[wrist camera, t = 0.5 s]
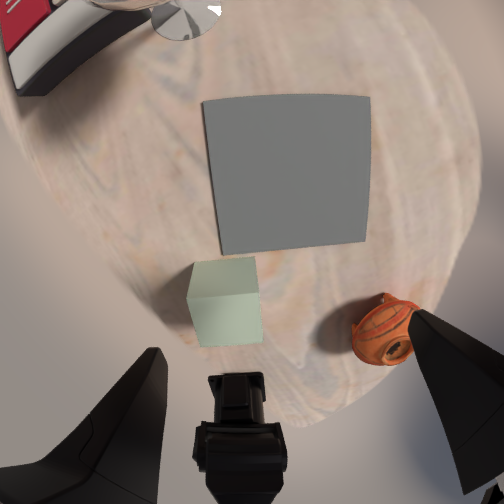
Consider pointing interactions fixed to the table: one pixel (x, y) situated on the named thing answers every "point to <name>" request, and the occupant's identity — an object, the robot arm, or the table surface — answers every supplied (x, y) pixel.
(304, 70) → the table surface
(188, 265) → the table surface
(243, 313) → the sage block
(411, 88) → the table surface
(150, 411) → the robot arm
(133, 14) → the calculator
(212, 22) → the wineglass
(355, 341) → the pot
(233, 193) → the charcoal mat
